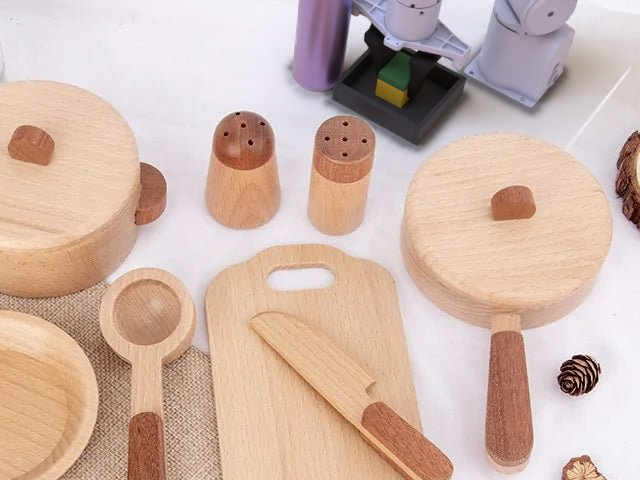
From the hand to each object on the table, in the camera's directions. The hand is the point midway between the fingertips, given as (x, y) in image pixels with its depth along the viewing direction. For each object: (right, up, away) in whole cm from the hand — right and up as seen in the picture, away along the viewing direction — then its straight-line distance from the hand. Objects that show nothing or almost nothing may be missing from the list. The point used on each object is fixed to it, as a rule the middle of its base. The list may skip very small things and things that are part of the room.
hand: (398, 85), depth 127 cm
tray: (0, -1, +1) cm, 2 cm away
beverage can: (-9, +2, +3) cm, 10 cm away
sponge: (0, 0, +1) cm, 1 cm away
